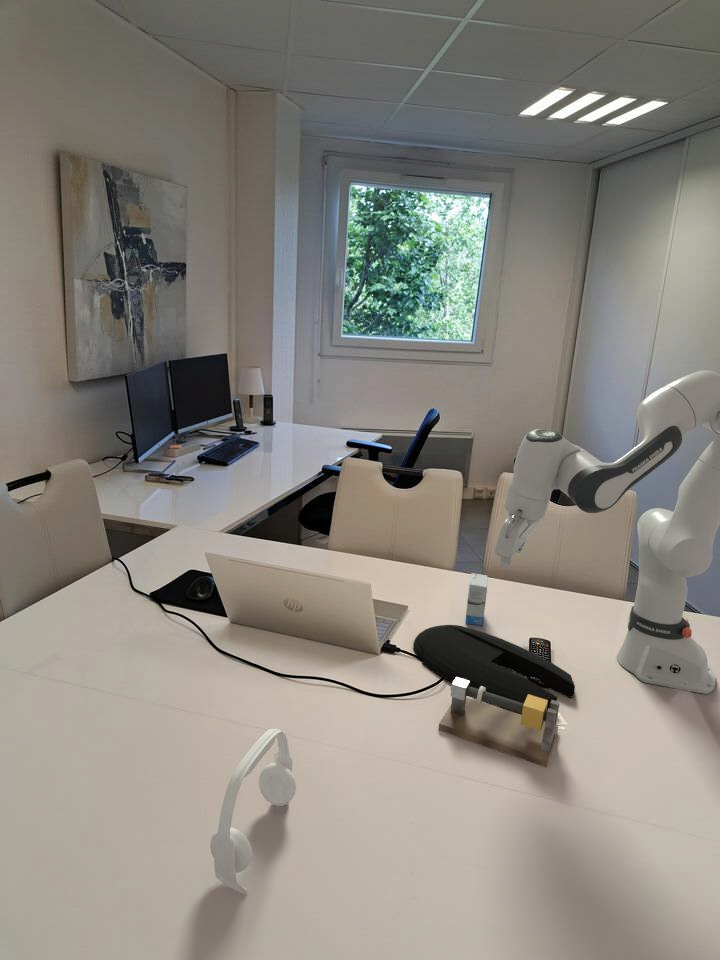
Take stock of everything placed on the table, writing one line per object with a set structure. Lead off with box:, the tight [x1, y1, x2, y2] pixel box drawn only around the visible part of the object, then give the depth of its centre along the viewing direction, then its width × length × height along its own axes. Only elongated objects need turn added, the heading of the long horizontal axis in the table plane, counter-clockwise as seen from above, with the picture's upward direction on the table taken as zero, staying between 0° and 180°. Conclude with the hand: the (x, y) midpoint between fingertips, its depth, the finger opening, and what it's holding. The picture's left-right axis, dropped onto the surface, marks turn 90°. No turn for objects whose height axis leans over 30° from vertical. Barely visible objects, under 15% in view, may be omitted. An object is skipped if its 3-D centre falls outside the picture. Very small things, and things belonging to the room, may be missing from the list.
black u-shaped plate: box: [413, 624, 576, 715], centre depth 159 cm, size 25×40×5 cm, turn 47°
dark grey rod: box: [466, 686, 558, 723], centre depth 134 cm, size 18×4×4 cm, turn 64°
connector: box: [450, 677, 470, 716], centre depth 138 cm, size 3×3×7 cm
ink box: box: [465, 572, 489, 627], centre depth 182 cm, size 8×5×12 cm, turn 168°
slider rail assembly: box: [438, 696, 561, 768], centre depth 135 cm, size 22×12×10 cm, turn 64°
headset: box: [209, 728, 297, 896], centre depth 103 cm, size 20×7×18 cm, turn 160°
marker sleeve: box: [520, 694, 548, 731], centre depth 132 cm, size 4×4×4 cm
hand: (511, 558), depth 145 cm, fingers open, 8 cm apart
